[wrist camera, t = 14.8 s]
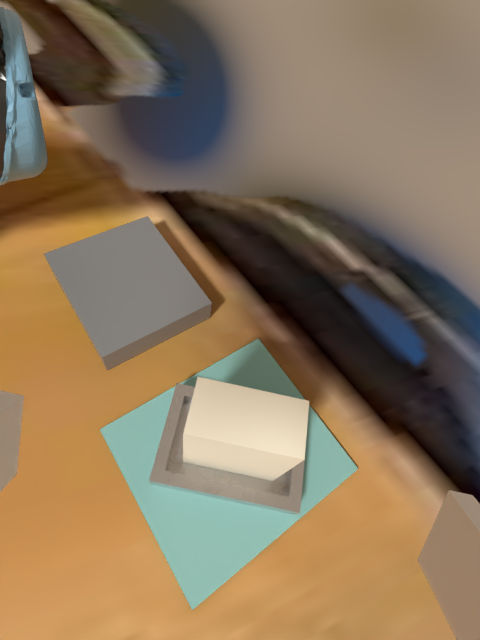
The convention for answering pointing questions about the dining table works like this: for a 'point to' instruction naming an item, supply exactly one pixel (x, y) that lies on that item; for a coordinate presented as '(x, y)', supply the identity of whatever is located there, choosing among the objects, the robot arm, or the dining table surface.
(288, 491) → the holder
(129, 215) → the dining table surface
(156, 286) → the plate
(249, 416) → the block
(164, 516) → the mat
